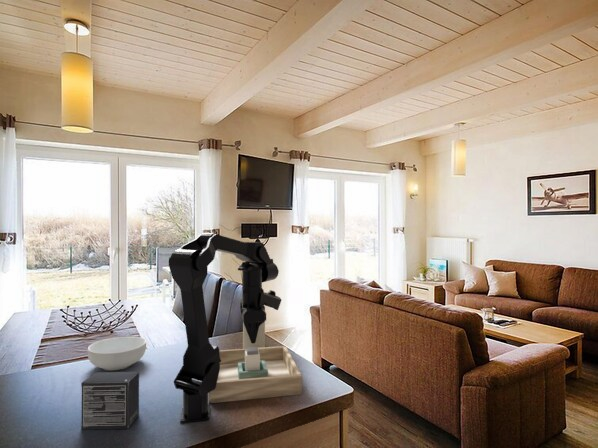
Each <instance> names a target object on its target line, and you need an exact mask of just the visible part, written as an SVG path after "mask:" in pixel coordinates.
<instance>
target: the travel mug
mask: <svg viewBox="0 0 598 448" xmlns="http://www.w3.org/2000/svg"><path fill="white" fill-rule="evenodd" d="M262 308H263V309H264V310H265V311H266V306H265V305H264V307H262ZM265 343H266V321H265V322H264V323H262V324H261V325H260V326H259V330H258V334H257V338H256V342H255V343H251V341H250V338H249V336H248V333H247V330H246V328H245V325H244V323H243V322H242V349H246V348H250V347H257V348H261V347H266V344H265Z"/></svg>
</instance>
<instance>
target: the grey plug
mask: <svg viewBox="0 0 598 448" xmlns="http://www.w3.org/2000/svg"><path fill="white" fill-rule="evenodd" d="M251 370H260V353H259V350H258V348H257V347H250V348H246V351H245V371H251Z"/></svg>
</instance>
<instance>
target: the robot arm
mask: <svg viewBox="0 0 598 448" xmlns="http://www.w3.org/2000/svg"><path fill="white" fill-rule="evenodd" d="M217 252H221V253H226V254H230V255H233V256H235V258H236V259H239V260H240V261H241V262H242V263H241V264H240V265H239V266H238V267H237V271H241V272H242V274H241V275H242V277H241V279H242V281H241V282H242V283H241V284H242V285H241V292H242V293H241V296H242V297H241V299H240V300H239V308H240V314H241V316H242V324H243V323H244V325H245V328H246V330H247V333H248V336H249V338H250V341H251V343H255V342H256V338H257V334H258V330H259V326H260V325H261V324H262V323H264V322H265V323H266V321H267V312H266V309H265V310H264V309H263V308H262V307H264V306H265V307H268V308H272V309H273V310H276V311H278V310H279V308H280V306H281V302H282V299H281V297H279V296H278V295H276V292H275V291H274V290H271V289H270V290H269V291H268V292H265V290H264V289H263V283H266V282H271V281H274V280H275V279H277V278H278V276H279V272H280V271H279V270H280V269H279V268H278V266H277V265H276V264H275V263H274V259H273V258H271V257H270V255H269V253H268V251H267V248H266V246H265V244H264V242H261V241H258V242H257V241H242V240H237V239H234V238H231V237H227V236H224V235H220V234H218V233H217V232H202V233H200V234H199V235H198V236H197V237H195V238H194V239H192V240H191V241H189V242H187V243H185V244H182V246H180V247H179V248H178V249H176V250H174V251H172V253H171V256H169V258H168V268H169V270H170V274H171V277H172V279H173V281H174V282H175V284H176V285H177V286H178V288H179V290H180V296H181V303H182V310H183V311H182V312H183V318H184V326H185V332H186V333H185V334H186V341H187V347H186V350H185V351H184V353H183V356H182V357H183V358H182V366H181V368H180V370H179V371H178V373H177V375H176V377H175V379H174V380H173V384H174V388H175V389H176V390H177V389H178V390H182V408H181V413H180V418H179V423H191V422H200V421H201V422H202V421H208V420H210V414H211V413H210V412H211V411H210V410H211V405H210V403H209V392H211V391H212V390H214V389H215V388H216V384H217V380H218V375H219V370H220V363H219V362H221V359H220V355H219V350H220V348H219V346H217V345H213V344H211V343H210V337H209V329H208V323H207V322H208V320H207V313H206V305H205V298H204V289H203V285H204V283H205V280H206V279H207V277H208V267H209V265H210V264H211V263H212V262H213V261H214V259H215V256H216V253H217Z"/></svg>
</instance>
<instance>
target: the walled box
mask: <svg viewBox="0 0 598 448" xmlns="http://www.w3.org/2000/svg"><path fill="white" fill-rule="evenodd" d="M258 350H259V353H260V370H251V371H245V351H246V349H244V348H236V349H221V350H220V349H219V355H220V359H221V362H219V363H220V370H219V375H218V380H217V384H216V388H215V389H214V390H212V391H211V392H209V393H208V404H215V403H217V404H218V403H225V402H235V401H236V402H237V401H247V400H256V399H266V398H267V399H268V398H277V397H287V396H296V395H302V391H303V389H302V387H303V386H302V383H303V381H302V378H303V377H302V376H303V375H302V373H301V372H300V369H299V368H298V366H297V364H296V362H295V360H294V358H293V357H292V354H291V353H290V351H289V350H288V347H287V346H286V345H281V346H280V345H279V346H278V345H277V346H265V347H261V348H258Z"/></svg>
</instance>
